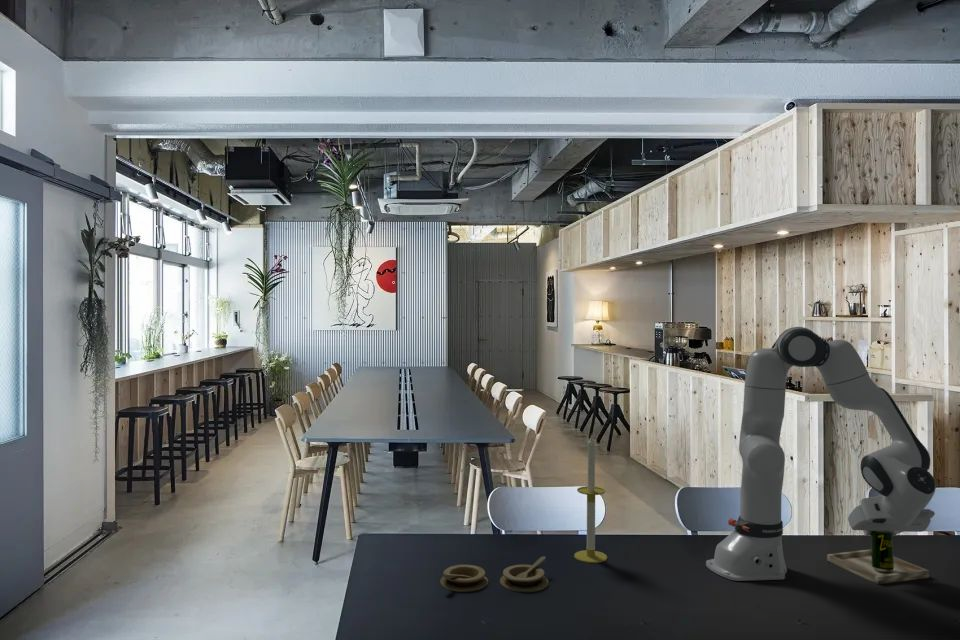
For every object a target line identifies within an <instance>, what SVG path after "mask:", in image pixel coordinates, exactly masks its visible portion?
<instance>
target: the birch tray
mask: <svg viewBox="0 0 960 640" xmlns="http://www.w3.org/2000/svg"><path fill="white" fill-rule="evenodd" d="M893 560H894V569H893V571H892V572H881V571H877V570H874V569H873V567H872V556H871V548H870V549H861V550H860V549H859V550H853V551H844V552H836V553H828V554H826V561H827V562H828V561H829V563H830V562H831V563H830V564H832V563H833V565H835V566H837V567H839V568H841V569H844V570H846V571H848V572H849V573H852V574H854V575H856V576H859V577H861V578H862V579H865V580H866V581H867V580H868V581H869V582H872V583H874V584H876V585H884V584H891V583H893V584H894V583H899V582H907V581H914V580H920V579H921V580H922V579H928V578H930V570H928V569H926V568H924V567H922V566H919V565H916V564H914V563H911V562H909V561H906V560H904V559H902V558H899V557H897V556H895V555H893Z"/></svg>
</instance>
